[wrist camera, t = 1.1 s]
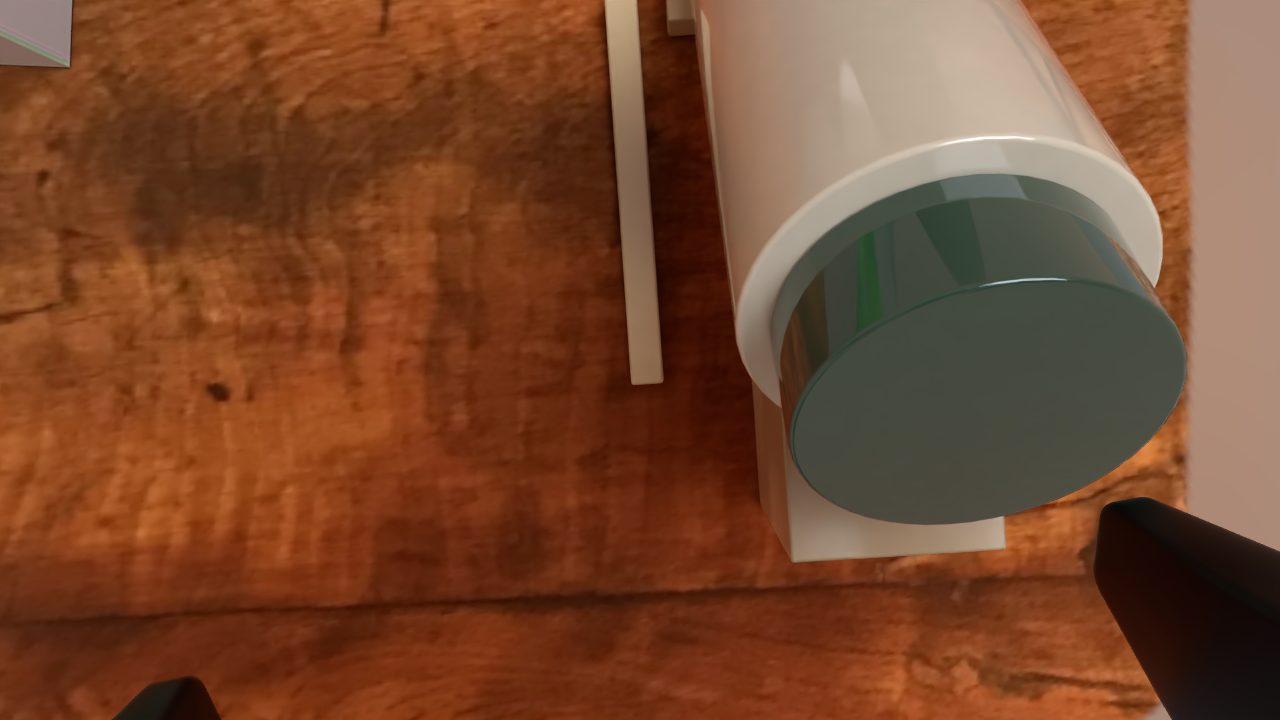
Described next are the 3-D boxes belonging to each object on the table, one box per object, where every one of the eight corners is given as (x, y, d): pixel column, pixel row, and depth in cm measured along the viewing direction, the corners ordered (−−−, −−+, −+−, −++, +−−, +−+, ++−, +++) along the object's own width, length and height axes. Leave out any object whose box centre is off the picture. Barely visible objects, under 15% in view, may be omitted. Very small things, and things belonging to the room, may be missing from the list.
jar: (953, 433, 23) (1317, 577, 10) (716, 449, 23) (773, 609, 10) (924, -92, 23) (1265, -647, 10) (680, -72, 23) (695, -588, 10)
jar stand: (1041, 488, 23) (1172, 540, 17) (641, 514, 23) (630, 573, 17) (1008, -31, 23) (1129, -165, 17) (605, 2, 23) (582, -117, 17)
